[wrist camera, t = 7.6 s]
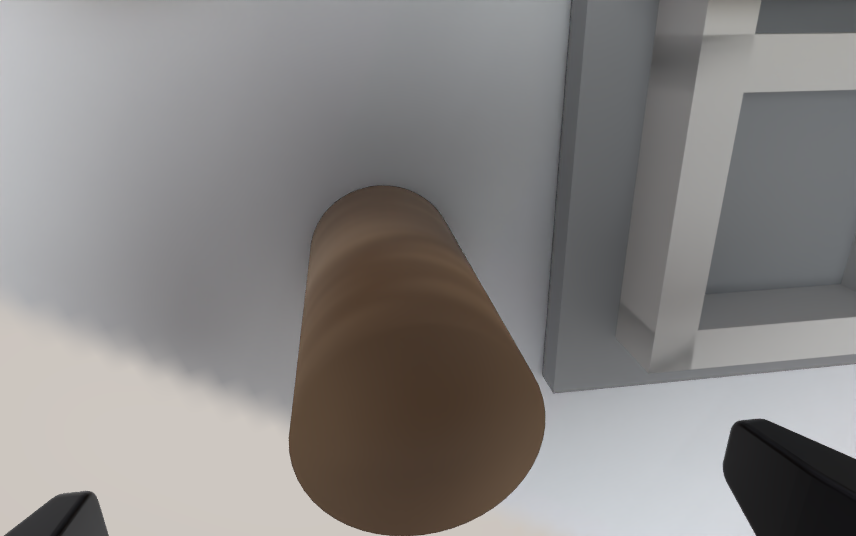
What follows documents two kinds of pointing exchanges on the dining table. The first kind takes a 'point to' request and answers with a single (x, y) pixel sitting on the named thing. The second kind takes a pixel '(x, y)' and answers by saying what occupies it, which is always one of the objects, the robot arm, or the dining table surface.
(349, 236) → the peg
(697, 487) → the dining table surface
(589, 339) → the dock
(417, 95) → the dining table surface
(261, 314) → the dining table surface
